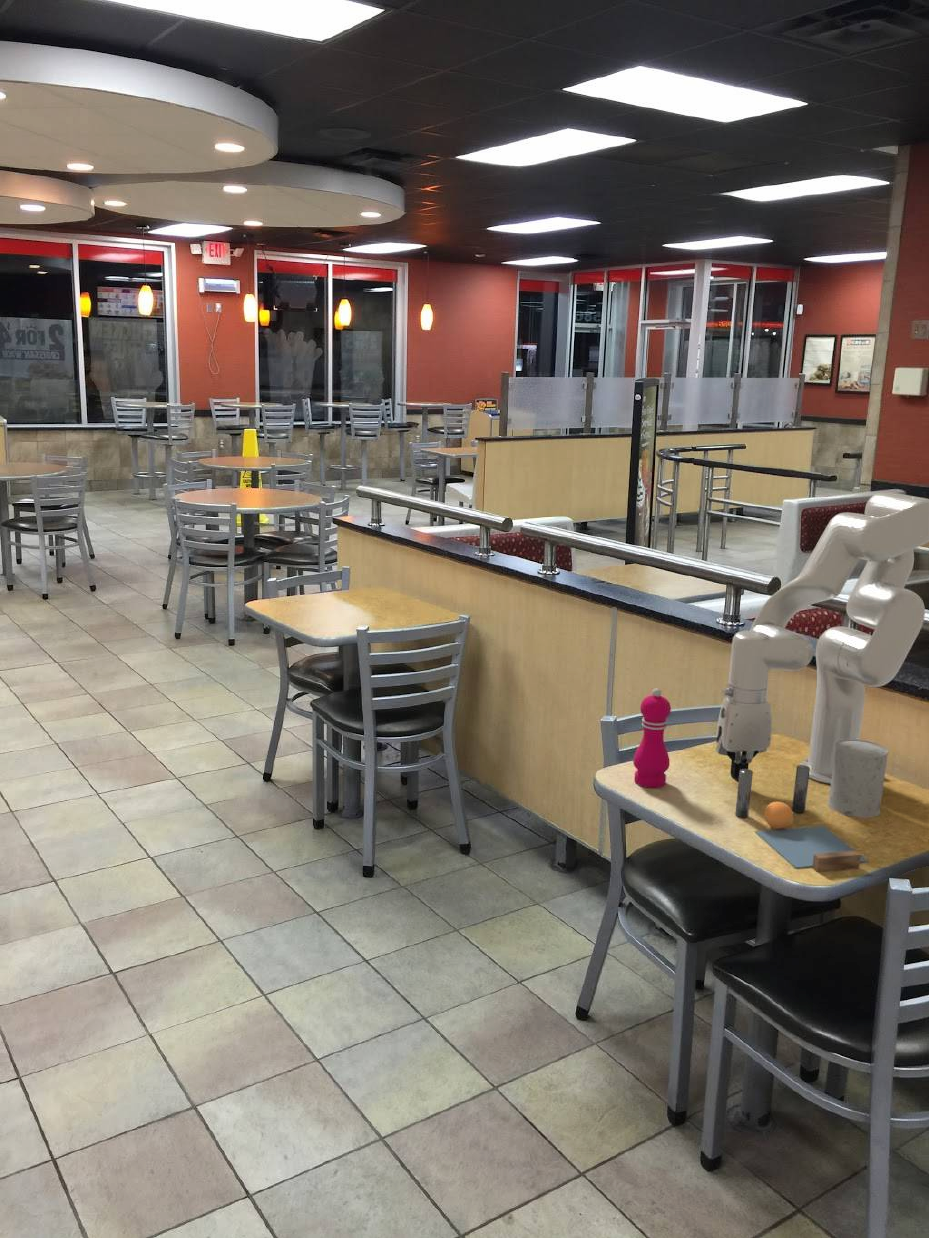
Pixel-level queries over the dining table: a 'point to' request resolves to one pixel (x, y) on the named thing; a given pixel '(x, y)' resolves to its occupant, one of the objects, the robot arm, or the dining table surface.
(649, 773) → the pepper mill
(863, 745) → the speckled stone cylinder
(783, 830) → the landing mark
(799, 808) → the post
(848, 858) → the wall
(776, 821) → the ball
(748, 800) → the post
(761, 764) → the dining table surface
